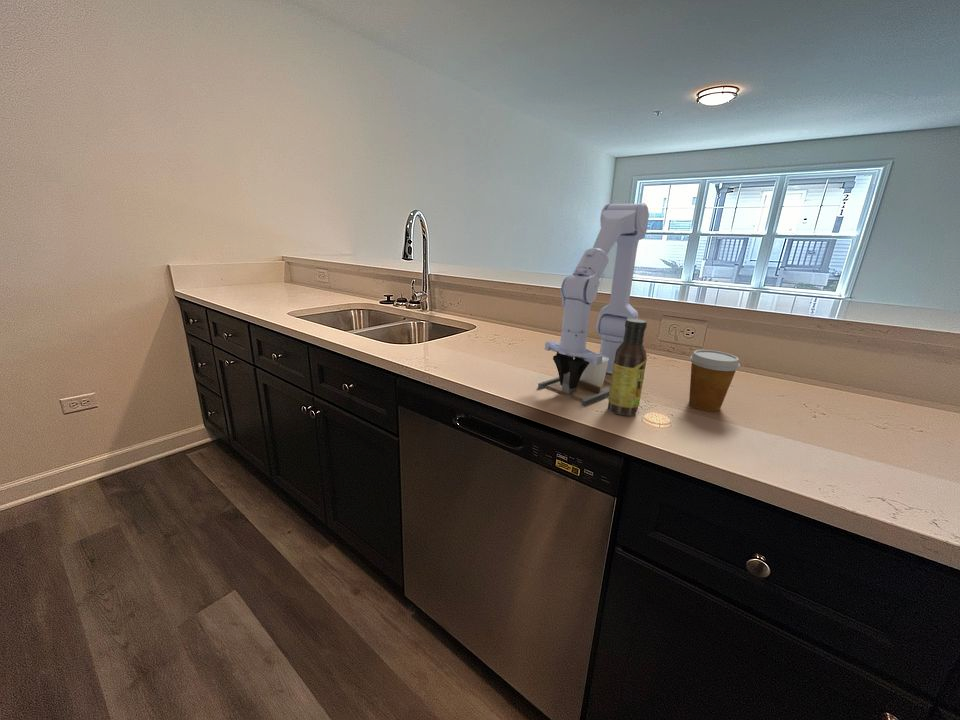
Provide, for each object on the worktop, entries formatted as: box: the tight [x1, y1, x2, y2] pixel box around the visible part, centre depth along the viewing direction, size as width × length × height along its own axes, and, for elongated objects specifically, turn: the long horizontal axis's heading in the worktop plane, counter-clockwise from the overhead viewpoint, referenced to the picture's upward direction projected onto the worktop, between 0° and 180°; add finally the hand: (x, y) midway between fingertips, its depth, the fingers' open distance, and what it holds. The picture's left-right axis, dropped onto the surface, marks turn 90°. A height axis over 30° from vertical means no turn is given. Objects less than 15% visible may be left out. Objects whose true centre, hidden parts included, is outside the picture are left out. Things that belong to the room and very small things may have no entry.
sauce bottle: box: [607, 318, 648, 416], centre depth 83 cm, size 6×6×20 cm
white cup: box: [580, 353, 609, 387], centre depth 98 cm, size 7×7×7 cm
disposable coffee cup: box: [688, 349, 741, 412], centre depth 88 cm, size 10×10×12 cm
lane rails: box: [537, 376, 610, 407], centre depth 97 cm, size 18×13×1 cm
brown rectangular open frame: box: [546, 372, 611, 402], centre depth 97 cm, size 15×11×5 cm
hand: (568, 386), depth 93 cm, fingers closed on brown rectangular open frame, 2 cm apart
